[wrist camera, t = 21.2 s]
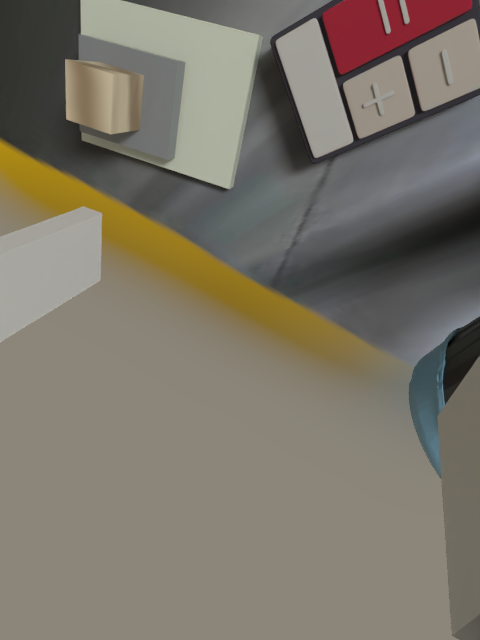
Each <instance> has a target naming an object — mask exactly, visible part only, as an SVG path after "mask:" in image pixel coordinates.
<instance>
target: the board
mask: <svg viewBox="0 0 480 640" xmlns="http://www.w3.org/2000/svg"><path fill="white" fill-rule="evenodd" d="M81 34H83V35H89V36H93V37H96V38H100V39H104V40H107V41H111V42H115V43H118V44H122V45H126V46H129V47H133V48H137V49H140V50H144V51H148V52H151V53H155V54H159V55H162V56H166V57H170V58H173V59H177V60H181V61H184V62H186V63H185V71H184V80H183V89H182V97H181V106H180V115H179V124H178V132H177V141H176V150H175V158H172V159H169V160H166V159H163V158H160V157H157V156H154V155H151V154H147V153H144V152H141V151H138V150H135V149H132V148H129V147H126V146H123V145H120V144H117V143H114V142H111V141H108V140H105V139H102V138H99V137H95V136H92V135H89V134H86V133H83V132H82V141H85V142H88V143H91V144H94V145H97V146H100V147H103V148H106V149H109V150H112V151H115V152H118V153H121V154H124V155H127V156H130V157H134V158H137V159H140V160H143V161H146V162H149V163H152V164H155V165H158V166H161V167H164V168H167V169H170V170H173V171H176V172H179V173H182V174H185V175H188V176H191V177H194V178H197V179H200V180H203V181H206V182H209V183H212V184H215V185H218V186H221V187H224V188H227V189H231V188H232V187H233V186H234V181H235V176H236V171H237V166H238V161H239V156H240V151H241V146H242V141H243V136H244V131H245V126H246V121H247V116H248V111H249V106H250V101H251V96H252V91H253V86H254V81H255V76H256V71H257V66H258V61H259V56H260V51H261V46H262V41H263V36H261V35H257V34H253V33H249V32H245V31H241V30H237V29H233V28H229V27H225V26H221V25H217V24H213V23H209V22H205V21H201V20H197V19H193V18H189V17H185V16H181V15H177V14H173V13H169V12H165V11H161V10H157V9H153V8H149V7H145V6H141V5H137V4H133V3H129V2H125V1H121V0H81Z"/></svg>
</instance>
